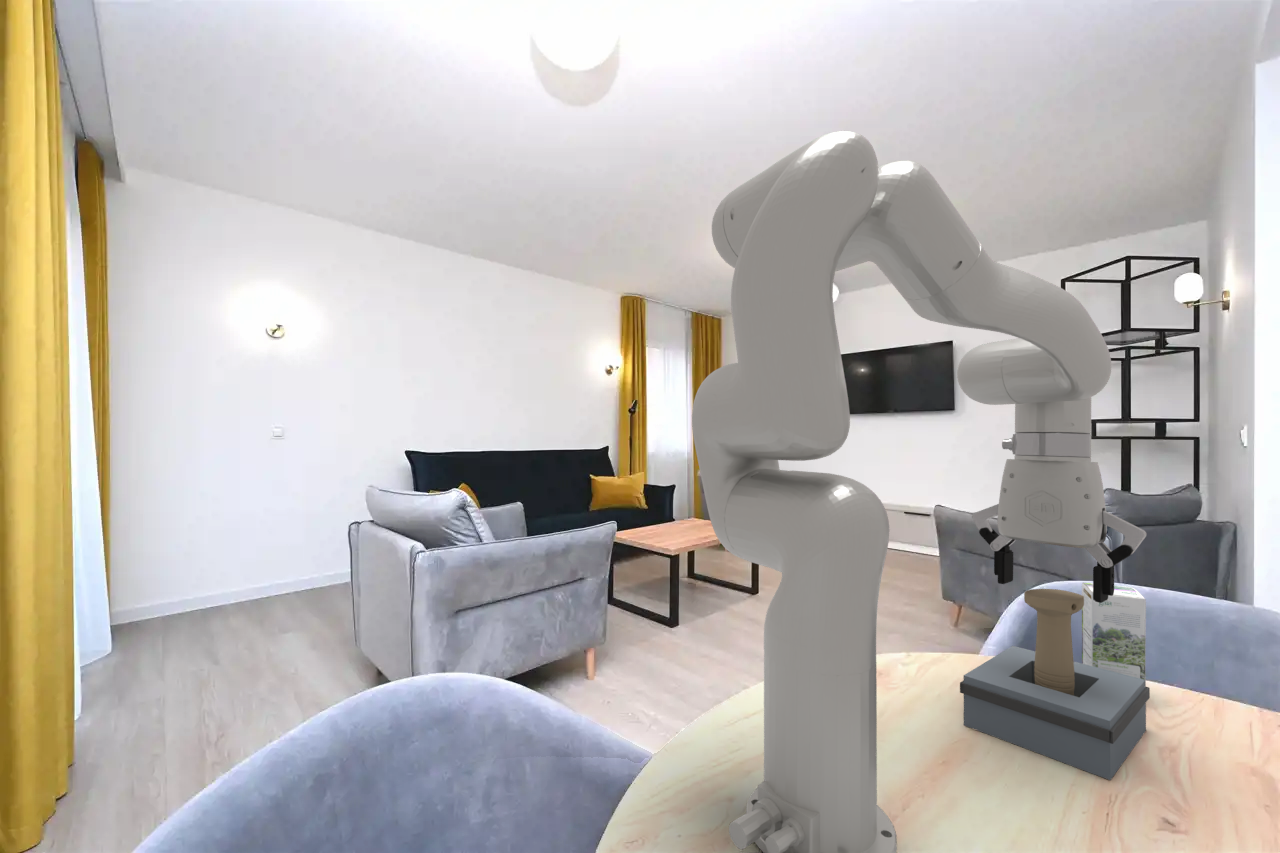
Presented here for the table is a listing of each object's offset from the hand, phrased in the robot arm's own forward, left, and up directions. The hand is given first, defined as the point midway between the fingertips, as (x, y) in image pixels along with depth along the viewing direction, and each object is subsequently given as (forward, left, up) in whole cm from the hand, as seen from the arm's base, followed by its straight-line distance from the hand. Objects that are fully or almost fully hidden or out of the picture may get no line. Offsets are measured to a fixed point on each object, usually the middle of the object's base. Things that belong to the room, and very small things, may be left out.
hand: (1050, 591), depth 68 cm
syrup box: (+18, -2, -17) cm, 24 cm away
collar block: (+1, 0, -17) cm, 16 cm away
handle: (+1, 0, -16) cm, 16 cm away
